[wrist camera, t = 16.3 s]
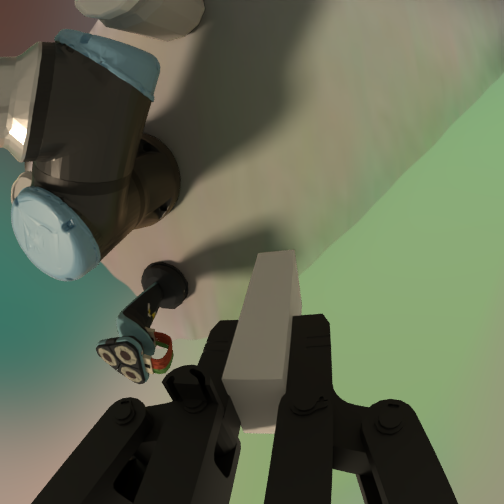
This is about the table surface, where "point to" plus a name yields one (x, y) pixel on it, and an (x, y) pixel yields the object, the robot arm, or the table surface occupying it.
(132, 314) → the electric shaver
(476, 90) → the table surface
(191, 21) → the jar
